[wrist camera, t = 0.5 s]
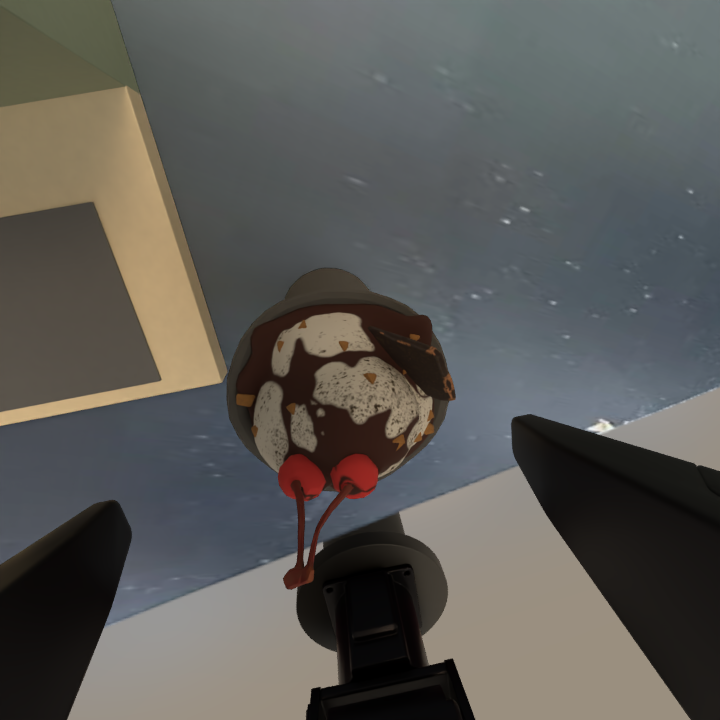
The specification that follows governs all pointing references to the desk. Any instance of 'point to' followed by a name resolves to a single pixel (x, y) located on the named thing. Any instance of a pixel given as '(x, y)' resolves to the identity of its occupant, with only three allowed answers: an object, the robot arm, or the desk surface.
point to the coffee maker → (87, 226)
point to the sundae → (336, 392)
